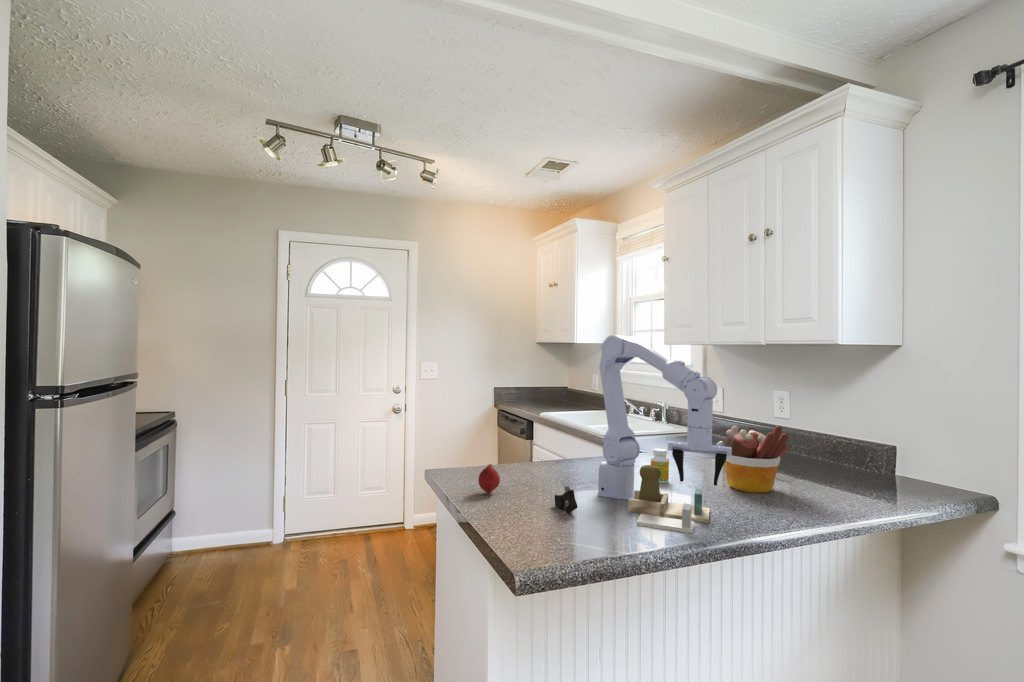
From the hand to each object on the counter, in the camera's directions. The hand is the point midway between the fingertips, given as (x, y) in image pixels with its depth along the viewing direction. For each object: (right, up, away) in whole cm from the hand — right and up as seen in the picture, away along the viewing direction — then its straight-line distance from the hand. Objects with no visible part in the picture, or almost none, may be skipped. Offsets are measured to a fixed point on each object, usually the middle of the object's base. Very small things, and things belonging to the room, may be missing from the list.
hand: (698, 482), depth 124 cm
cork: (-11, -8, +4) cm, 14 cm away
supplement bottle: (0, -9, +33) cm, 34 cm away
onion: (-52, -7, +15) cm, 54 cm away
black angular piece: (-33, -8, +1) cm, 33 cm away
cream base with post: (-10, -8, -8) cm, 15 cm away
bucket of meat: (+26, -10, +27) cm, 38 cm away
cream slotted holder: (-6, -8, +2) cm, 10 cm away
